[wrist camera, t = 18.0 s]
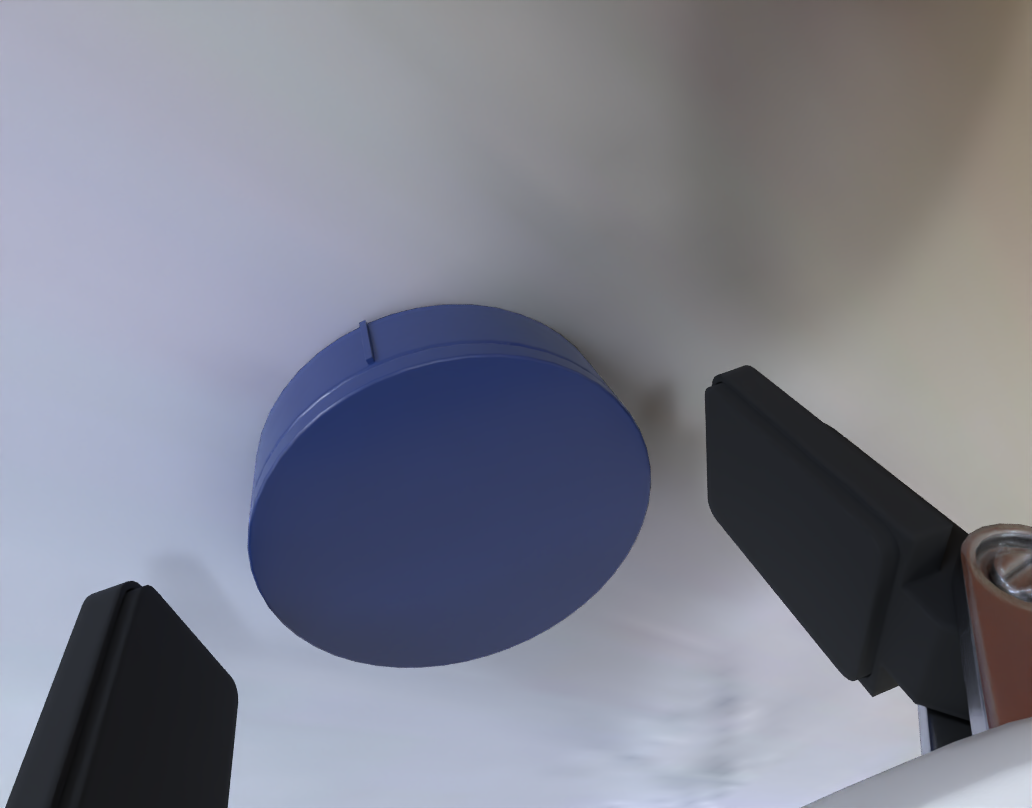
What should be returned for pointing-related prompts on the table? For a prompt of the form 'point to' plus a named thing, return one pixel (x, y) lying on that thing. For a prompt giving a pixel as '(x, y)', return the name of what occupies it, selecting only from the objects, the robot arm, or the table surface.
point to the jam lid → (442, 488)
